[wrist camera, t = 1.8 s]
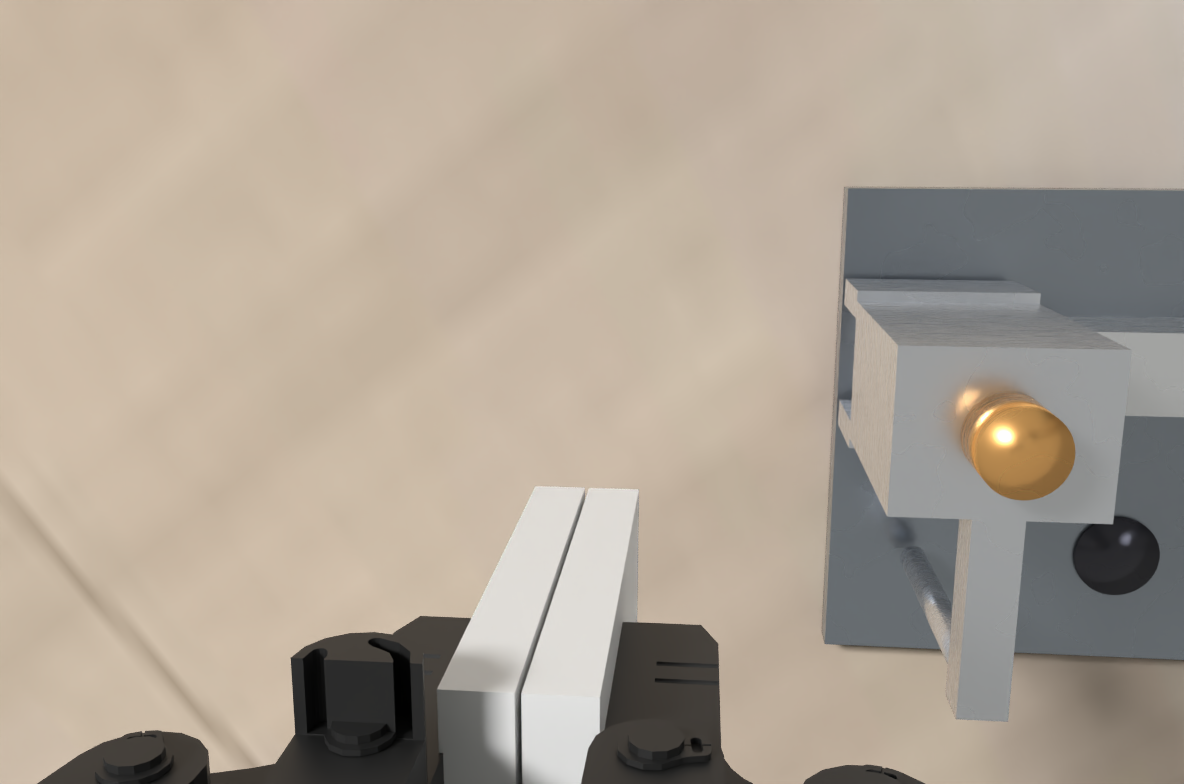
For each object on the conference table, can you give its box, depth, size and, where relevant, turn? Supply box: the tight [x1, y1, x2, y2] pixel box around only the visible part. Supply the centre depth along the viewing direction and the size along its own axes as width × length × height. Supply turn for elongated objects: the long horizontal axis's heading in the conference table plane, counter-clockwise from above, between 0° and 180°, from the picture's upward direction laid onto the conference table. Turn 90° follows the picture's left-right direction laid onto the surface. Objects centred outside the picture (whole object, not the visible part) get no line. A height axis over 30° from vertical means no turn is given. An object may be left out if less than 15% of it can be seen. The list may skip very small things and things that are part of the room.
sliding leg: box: [838, 279, 1132, 722], centre depth 30 cm, size 5×9×11 cm, turn 0°
